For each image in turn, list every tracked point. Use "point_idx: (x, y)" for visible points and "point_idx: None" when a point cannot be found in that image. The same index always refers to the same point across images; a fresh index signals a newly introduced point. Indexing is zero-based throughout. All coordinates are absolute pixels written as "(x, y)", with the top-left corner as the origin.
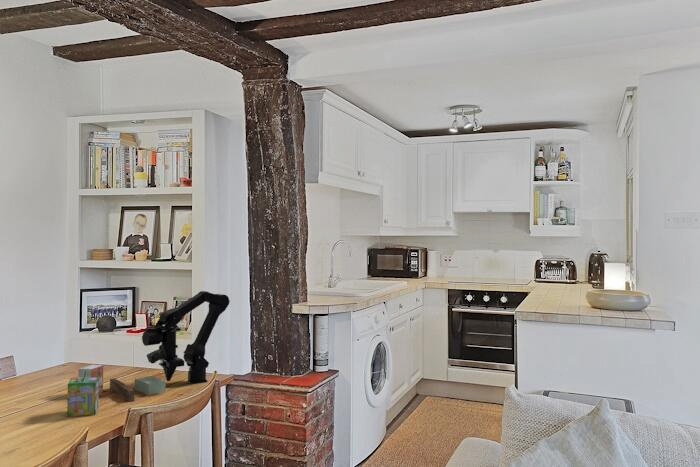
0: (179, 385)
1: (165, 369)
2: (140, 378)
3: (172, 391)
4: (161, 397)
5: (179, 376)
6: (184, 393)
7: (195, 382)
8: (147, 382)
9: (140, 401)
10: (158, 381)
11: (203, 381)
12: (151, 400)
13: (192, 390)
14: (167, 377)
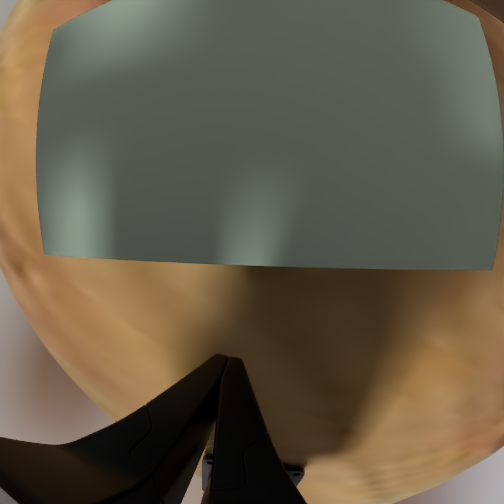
0: None
1: (153, 471)
2: (459, 54)
3: (88, 268)
4: (18, 130)
5: (430, 459)
6: (25, 290)
7: (202, 463)
8: (114, 15)
9: (47, 8)
10: (57, 162)
11: (202, 481)
12: (18, 63)
13: (64, 361)
14: (186, 378)
